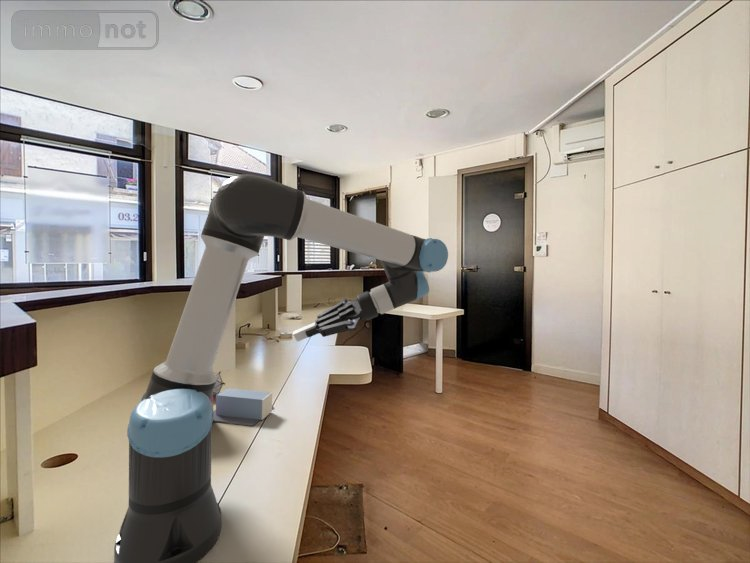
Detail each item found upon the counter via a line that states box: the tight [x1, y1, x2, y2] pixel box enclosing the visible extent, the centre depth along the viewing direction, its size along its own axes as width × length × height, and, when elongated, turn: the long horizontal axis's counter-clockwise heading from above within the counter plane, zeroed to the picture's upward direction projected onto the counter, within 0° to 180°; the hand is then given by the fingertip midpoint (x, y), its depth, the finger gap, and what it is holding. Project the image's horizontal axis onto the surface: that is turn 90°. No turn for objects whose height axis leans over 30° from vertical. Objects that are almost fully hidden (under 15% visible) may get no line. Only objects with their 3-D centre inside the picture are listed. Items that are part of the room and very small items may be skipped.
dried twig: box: [213, 371, 226, 396], centre depth 117 cm, size 9×8×10 cm
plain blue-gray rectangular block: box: [215, 388, 273, 421], centre depth 103 cm, size 6×6×15 cm
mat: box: [212, 405, 274, 427], centre depth 104 cm, size 13×16×1 cm
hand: (295, 336), depth 93 cm, fingers closed
